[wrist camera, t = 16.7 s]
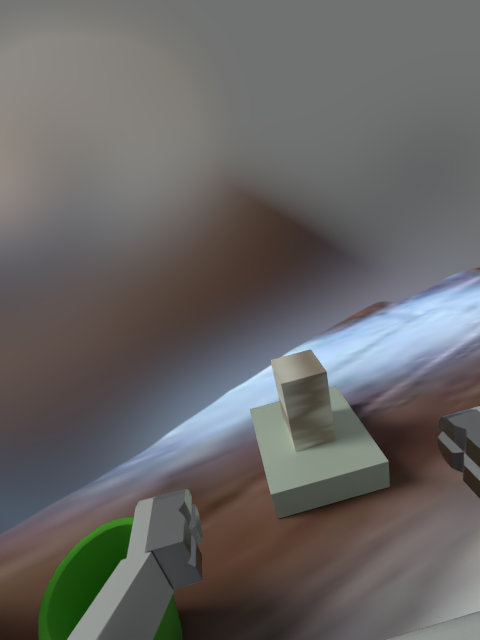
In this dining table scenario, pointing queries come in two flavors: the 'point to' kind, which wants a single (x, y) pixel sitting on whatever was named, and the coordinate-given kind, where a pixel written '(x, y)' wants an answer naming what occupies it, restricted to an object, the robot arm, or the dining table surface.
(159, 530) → the robot arm
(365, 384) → the dining table surface
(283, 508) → the base plinth
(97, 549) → the cup
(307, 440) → the cream block
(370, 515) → the dining table surface
